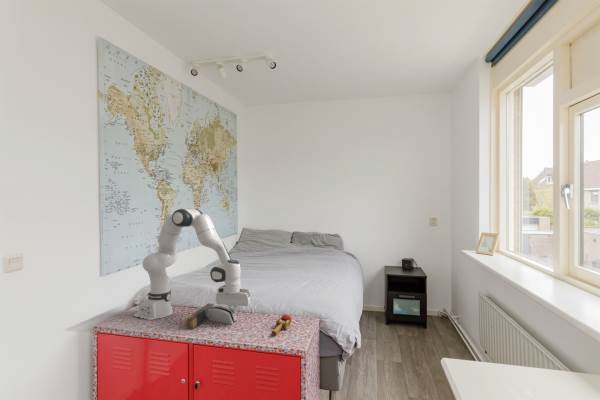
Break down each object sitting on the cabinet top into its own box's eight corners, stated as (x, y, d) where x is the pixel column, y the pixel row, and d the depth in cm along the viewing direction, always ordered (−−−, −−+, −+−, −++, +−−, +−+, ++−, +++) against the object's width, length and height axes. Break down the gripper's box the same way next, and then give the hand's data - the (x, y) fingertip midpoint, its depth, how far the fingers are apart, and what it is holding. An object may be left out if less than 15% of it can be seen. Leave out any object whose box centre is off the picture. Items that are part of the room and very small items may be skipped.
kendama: (282, 340, 155) (295, 322, 171) (279, 328, 154) (293, 311, 171) (269, 340, 158) (283, 322, 174) (266, 328, 157) (281, 312, 174)
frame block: (186, 328, 165) (186, 318, 165) (208, 312, 188) (208, 303, 188) (193, 329, 164) (193, 318, 164) (214, 313, 188) (214, 303, 188)
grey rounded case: (237, 320, 175) (233, 306, 172) (232, 326, 171) (229, 312, 168) (214, 316, 182) (210, 302, 179) (209, 322, 178) (205, 308, 175)
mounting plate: (197, 326, 168) (197, 314, 168) (211, 315, 184) (211, 304, 184) (197, 326, 168) (197, 314, 168) (211, 315, 184) (211, 304, 184)
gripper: (252, 287, 174) (252, 311, 174) (219, 285, 179) (219, 309, 178) (248, 291, 168) (248, 315, 168) (214, 288, 172) (214, 313, 172)
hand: (233, 312), depth 173 cm, fingers closed
